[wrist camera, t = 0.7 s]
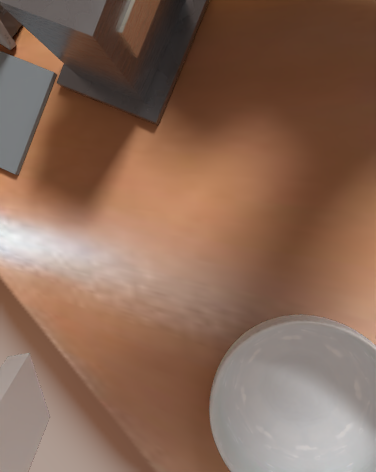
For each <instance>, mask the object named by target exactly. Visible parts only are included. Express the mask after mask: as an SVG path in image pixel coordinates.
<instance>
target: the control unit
mask: <svg viewBox="0 0 376 472" xmlns="http://www.w3.org/2000/svg"><path fill="white" fill-rule="evenodd" d="M209 1H210V0H0V5H1V6H2V7H3V8H5V9H6V10H7V11H8V12H9V13H10V14H11V15H12V16H13V17H14V18H15V19H16V20H18V21H19V22H20V23H21V24H22V25H23V26H24V27H25V28H26V29H27V30H28V31H30V32H31V33H32V34H33V35H34V36H35V37H36V38H37V39H38V40H39V41H40V42H41V43H43V44H44V45H45V46H46V47H47V48H48V49H49V50H50V51H51V52H52V53H53V54H55V55H56V56H57V57H58V58H59V59H60V60H61V61H62V62H63V63H64V65H63V68H62V70H61V73H60V75H59V78H58V81H57V83H58V84H59V85H60V86H62V87H64V88H66V89H69V90H71V91H74V92H76V93H79V94H81V95H84V96H86V97H89V98H91V99H94V100H96V101H99V102H101V103H104V104H106V105H109V106H111V107H114V108H116V109H119V110H121V111H124V112H126V113H129V114H131V115H134V116H136V117H138V118H141V119H143V120H146V121H148V122H151V123H153V124H156V125H159V122H160V120H161V117H162V115H163V113H164V110H165V108H166V105H167V103H168V100H169V98H170V96H171V93H172V91H173V88H174V86H175V83H176V81H177V79H178V76H179V74H180V71H181V69H182V66H183V64H184V61H185V59H186V57H187V54H188V52H189V49H190V47H191V44H192V42H193V40H194V37H195V35H196V32H197V30H198V27H199V25H200V23H201V20H202V18H203V15H204V13H205V10H206V8H207V6H208V3H209Z"/></svg>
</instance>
